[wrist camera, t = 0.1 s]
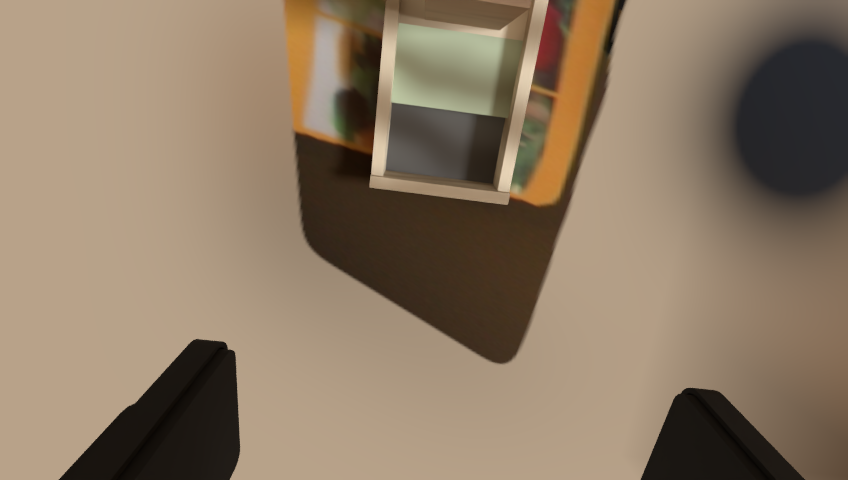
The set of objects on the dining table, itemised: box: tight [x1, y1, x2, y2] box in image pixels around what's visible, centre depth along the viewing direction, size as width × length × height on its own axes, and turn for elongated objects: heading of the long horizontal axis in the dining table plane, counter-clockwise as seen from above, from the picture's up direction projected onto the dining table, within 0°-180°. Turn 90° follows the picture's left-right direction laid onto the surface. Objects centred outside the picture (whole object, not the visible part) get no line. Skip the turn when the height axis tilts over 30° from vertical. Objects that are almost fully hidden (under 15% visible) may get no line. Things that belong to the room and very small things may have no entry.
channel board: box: [369, 0, 548, 205], centre depth 32 cm, size 28×12×4 cm, turn 173°
